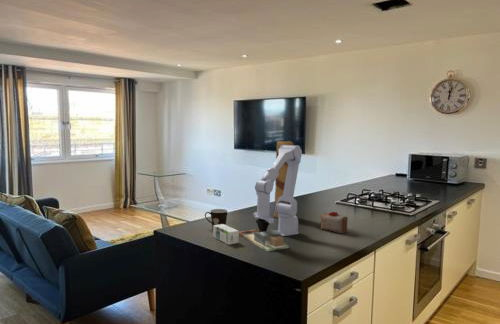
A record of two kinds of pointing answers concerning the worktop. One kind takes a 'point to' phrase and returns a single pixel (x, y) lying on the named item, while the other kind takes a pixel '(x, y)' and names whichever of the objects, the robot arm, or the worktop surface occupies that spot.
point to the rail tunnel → (261, 238)
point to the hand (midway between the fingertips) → (262, 235)
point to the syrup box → (226, 234)
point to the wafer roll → (280, 176)
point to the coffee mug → (217, 216)
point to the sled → (274, 241)
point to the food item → (334, 222)
